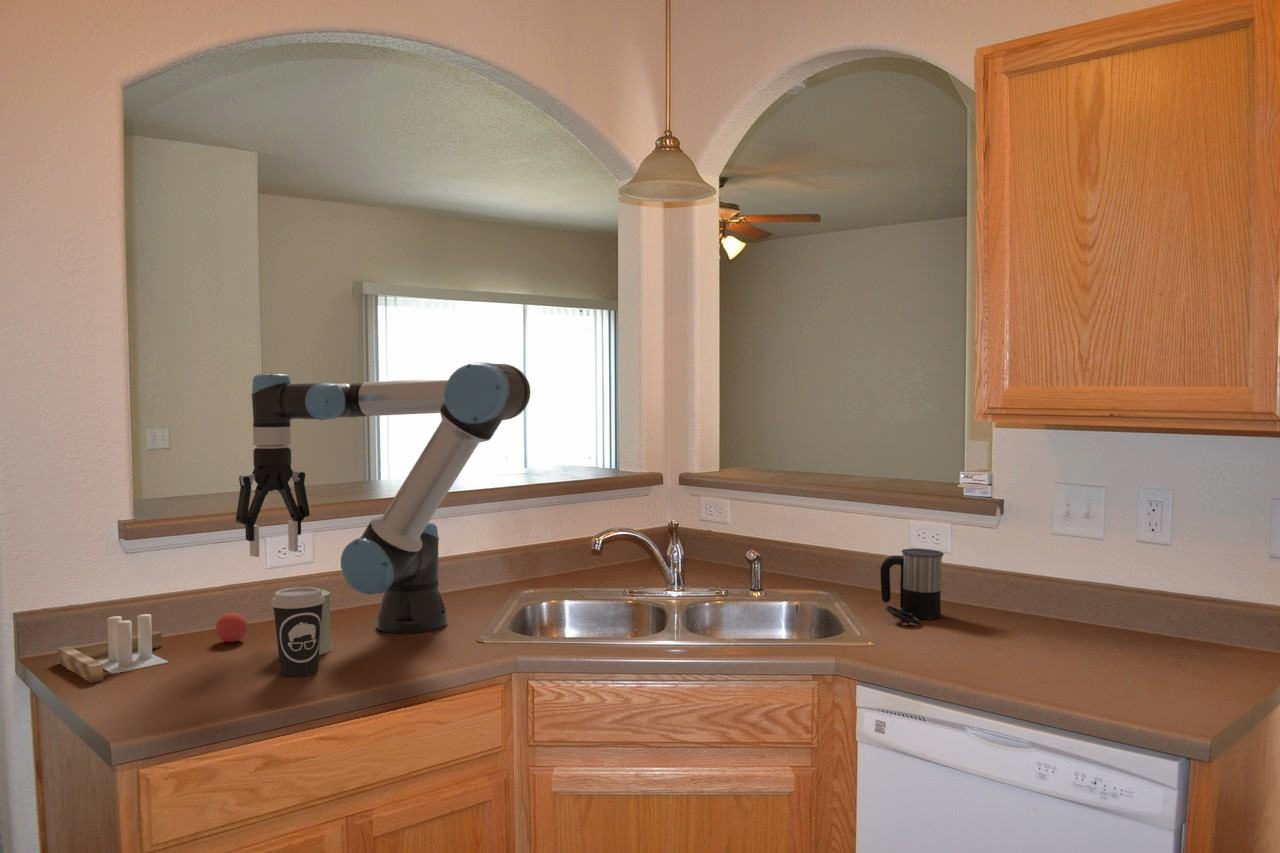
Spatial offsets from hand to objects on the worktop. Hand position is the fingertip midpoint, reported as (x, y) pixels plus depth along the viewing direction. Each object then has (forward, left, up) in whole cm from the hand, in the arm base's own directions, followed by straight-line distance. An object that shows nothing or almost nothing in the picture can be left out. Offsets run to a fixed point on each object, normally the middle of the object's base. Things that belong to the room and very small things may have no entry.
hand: (274, 553), depth 206 cm
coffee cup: (-30, +11, -17) cm, 36 cm away
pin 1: (+3, +31, -17) cm, 36 cm away
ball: (0, +10, -14) cm, 17 cm away
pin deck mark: (0, +30, -17) cm, 34 cm away
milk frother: (-95, -103, -18) cm, 142 cm away
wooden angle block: (0, +30, -17) cm, 35 cm away
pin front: (0, +27, -17) cm, 32 cm away
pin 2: (-2, +31, -17) cm, 36 cm away
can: (-18, +3, -17) cm, 25 cm away
